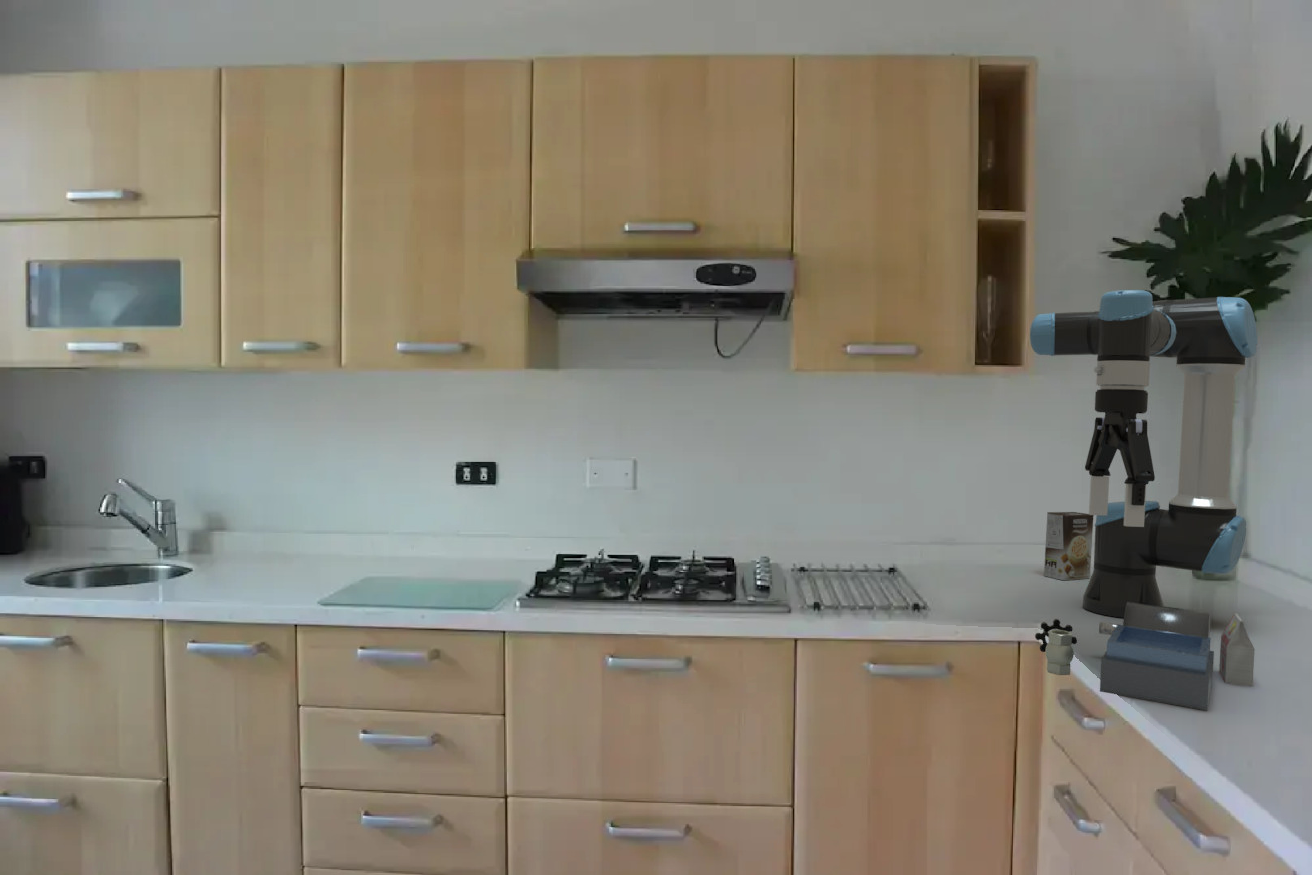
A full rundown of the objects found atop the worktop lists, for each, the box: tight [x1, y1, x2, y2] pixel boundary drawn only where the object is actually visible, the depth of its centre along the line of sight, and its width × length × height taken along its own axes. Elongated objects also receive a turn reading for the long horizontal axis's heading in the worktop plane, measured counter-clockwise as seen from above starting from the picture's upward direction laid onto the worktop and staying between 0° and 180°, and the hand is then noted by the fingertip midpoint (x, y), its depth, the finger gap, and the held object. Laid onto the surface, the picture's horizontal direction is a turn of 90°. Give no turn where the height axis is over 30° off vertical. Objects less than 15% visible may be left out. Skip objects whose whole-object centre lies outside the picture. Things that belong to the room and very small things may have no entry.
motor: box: [1098, 602, 1215, 711], centre depth 147 cm, size 26×17×10 cm, turn 147°
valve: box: [1034, 618, 1078, 676], centre depth 153 cm, size 7×7×12 cm
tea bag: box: [1218, 612, 1256, 687], centre depth 148 cm, size 4×7×10 cm, turn 155°
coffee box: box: [1043, 511, 1095, 581], centre depth 229 cm, size 9×6×16 cm
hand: (1115, 520), depth 148 cm, fingers open, 13 cm apart
